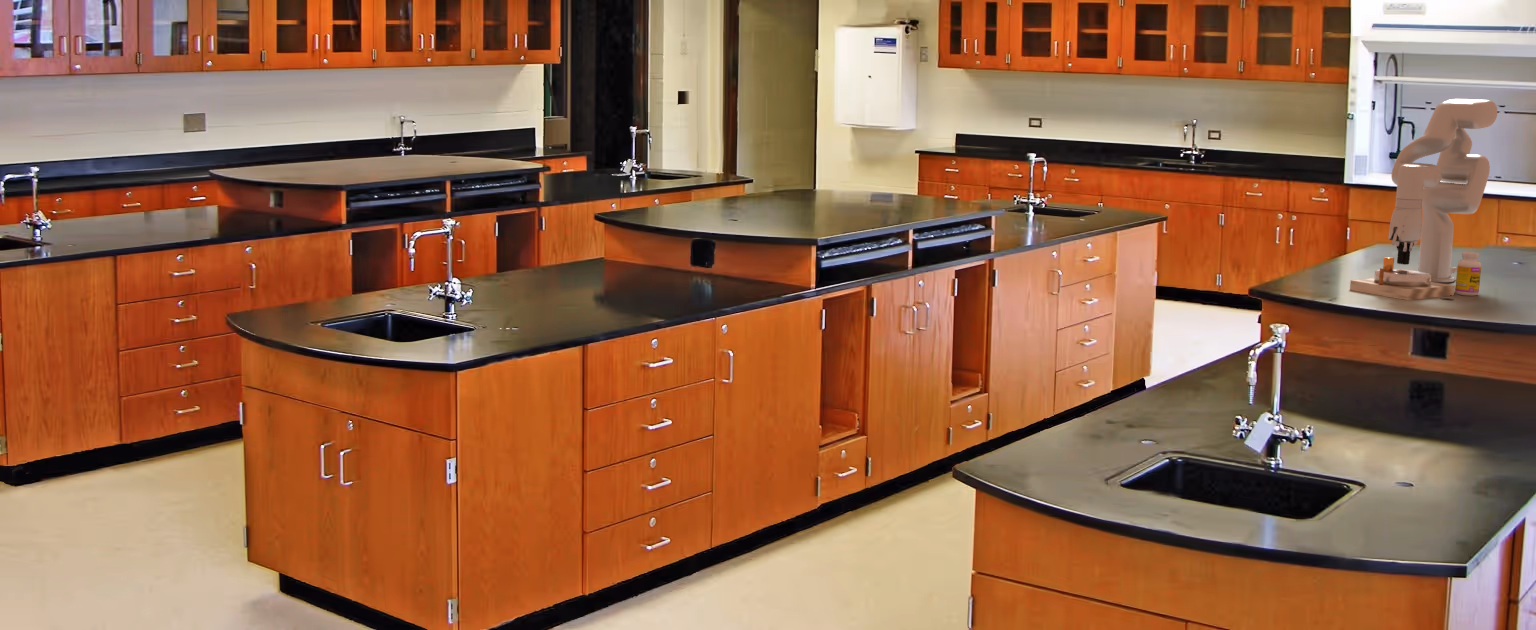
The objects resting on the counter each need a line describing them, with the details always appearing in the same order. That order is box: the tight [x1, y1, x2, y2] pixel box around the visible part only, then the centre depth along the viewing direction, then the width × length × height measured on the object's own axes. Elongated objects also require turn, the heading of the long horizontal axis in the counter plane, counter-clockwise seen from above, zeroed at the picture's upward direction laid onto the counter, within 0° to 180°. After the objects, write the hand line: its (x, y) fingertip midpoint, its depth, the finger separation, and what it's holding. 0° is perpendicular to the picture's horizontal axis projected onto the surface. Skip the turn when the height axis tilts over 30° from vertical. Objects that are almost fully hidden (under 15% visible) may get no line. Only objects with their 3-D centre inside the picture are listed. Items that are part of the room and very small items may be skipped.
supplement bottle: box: [1454, 251, 1482, 297], centre depth 473 cm, size 7×7×13 cm
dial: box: [1373, 256, 1431, 287], centre depth 474 cm, size 16×16×7 cm
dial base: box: [1349, 267, 1455, 301], centre depth 475 cm, size 21×21×8 cm
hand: (1402, 263), depth 482 cm, fingers closed
